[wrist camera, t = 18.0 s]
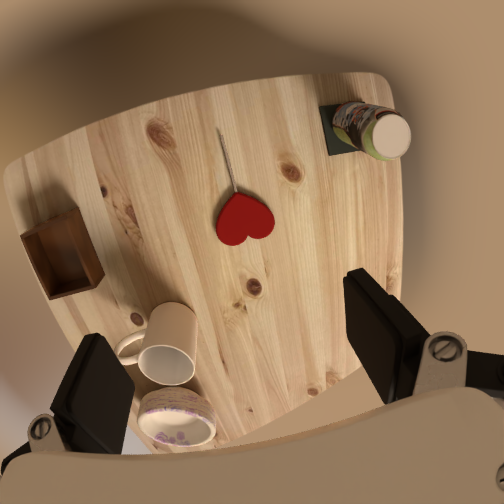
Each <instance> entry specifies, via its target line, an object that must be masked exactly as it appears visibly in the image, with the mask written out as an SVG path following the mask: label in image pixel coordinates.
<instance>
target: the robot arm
mask: <svg viewBox="0 0 504 504" xmlns="http://www.w3.org/2000/svg"><path fill="white" fill-rule="evenodd" d="M343 286H344V299H345V314H346V333H347V338H348V340H349V342H350V344H351V346H352V348H353V349H354V351H355V353H356V355H357V356H358V358H359V360H360V362H361V363H362V365H363V367H364V369H365V370H366V372H367V374H368V376H369V378H370V379H371V381H372V383H373V385H374V386H375V388H376V390H377V392H378V393H379V395H380V397H381V399H382V401H383V402H384V404H385V405H384V406H382V407H379V408H376V409H374V410H371V411H368V412H366V413H362V414H360V415H357V416H354V417H351V418H348V419H345V420H342V421H338V422H335V423H332V424H329V425H326V426H322V427H319V428H315V429H312V430H308V431H304V432H301V433H297V434H293V435H289V436H285V437H280V438H276V439H272V440H267V441H262V442H257V443H251V444H246V445H240V446H234V447H228V448H221V449H213V450H205V451H195V452H184V453H170V454H146V455H121V452H122V447H123V442H124V437H125V432H126V427H127V422H128V417H129V413H130V408H131V404H132V399H133V395H134V391H135V385H134V382H133V380H132V379H131V377H130V376H129V374H128V373H127V372H126V370H125V369H124V367H123V366H122V364H121V362H120V361H119V359H118V358H117V356H116V355H115V353H114V351H113V350H112V348H111V347H110V345H109V343H108V342H107V340H106V338H105V337H104V336H101V335H100V334H99V333H93V334H88V335H85V336H84V338H83V340H82V342H81V343H80V345H79V347H78V349H77V351H76V353H75V355H74V357H73V360H72V361H71V363H70V365H69V367H68V369H67V371H66V374H65V376H64V378H63V380H62V382H61V384H60V386H59V389H58V391H57V393H56V395H55V398H54V400H53V402H52V404H51V407H50V410H51V411H52V412H53V413H54V417H52V416H51V415H49V414H41V415H39V416H37V417H36V418H35V419H34V420H33V421H32V422H31V423H30V425H29V427H28V439H29V441H28V442H27V443H25V444H24V445H22V446H21V447H20V448H18V449H17V450H16V451H14V452H13V453H11V454H10V455H9V456H7V457H6V458H5V459H4V460H3V462H2V466H1V474H2V476H0V504H504V355H497V354H490V353H483V352H476V351H469V350H467V344H466V342H465V341H464V339H462V337H460V336H459V335H457V334H455V333H452V332H438V333H434V334H433V335H430V334H429V333H428V332H427V331H426V330H425V329H424V328H423V326H422V325H421V324H420V323H419V322H418V321H417V320H416V319H415V318H414V316H413V315H412V314H411V313H410V312H409V311H408V310H407V309H406V308H405V307H404V306H403V305H402V304H401V303H400V301H399V300H398V299H397V298H396V297H395V296H393V295H388V293H387V292H386V291H385V290H384V289H383V288H382V287H381V286H380V285H379V284H378V283H377V282H376V281H375V280H374V279H373V278H372V277H371V276H370V275H369V274H368V273H367V272H366V270H365V269H363V268H359V269H356V270H352V271H349V272H348V273H347V276H346V277H344V278H343Z"/></svg>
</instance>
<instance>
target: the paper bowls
mask: <svg viewBox="0 0 504 504" xmlns="http://www.w3.org/2000/svg"><path fill="white" fill-rule="evenodd" d="M137 424H138V426H139V428H140V429H141V431H142V432H143V433H144V434H145V435H147V436H148V437H150V438H151V439H153V440H155V441H158V442H161V443H164V444H167V445H172V446H179V447H192V446H198V445H202V444H204V443H207V442H209V441H210V440H211V439H212V438H213V437H214V436H215V434H216V413H215V410H214V407H213V406H212V405H211V404H210V403H209V402H208V401H207V400H206V399H204V398H202V397H200V396H199V395H198V394H197V393H195V392H193V391H191V390H189V389H186V388H182V387H165V388H162V389H160V390H155V391H152V392H150V393H148V394H146V395H145V396H144V397H143V398H142V400H141V402H140V407H139V412H138V417H137Z"/></svg>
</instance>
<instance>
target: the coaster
mask: <svg viewBox="0 0 504 504" xmlns="http://www.w3.org/2000/svg"><path fill="white" fill-rule="evenodd" d="M360 103H365V102H360ZM340 105H341V104H336V105H328V106H320V107H319V109H320V114H321V118H322V123H323V128H324V133H325V138H326V143H327V148H328V154H329V156H331V155H337V154H343V153H348V152H354V151H360V150H359V149H357V148H355V147H353V146H352V145H350V144H348V143H346V142H344V141H342V140H341V139H339V138H338V137H337V135H336V134H335V132H334V130H333V126H332V117H333V114H334V112H335V110H336V109H337V107H338V106H340Z"/></svg>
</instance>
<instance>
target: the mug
mask: <svg viewBox="0 0 504 504" xmlns="http://www.w3.org/2000/svg"><path fill="white" fill-rule="evenodd" d="M197 330H198V321H197V318H196V316H195V314H194V313H193V311H192V310H191V309H189V308H188V307H187V306H185V305H183V304H180V303H176V302H167V303H163V304H160V305H158V306H157V307H156V308H155V309H154V310H153V311H152V313H151V316H150V319H149V322H148V325H147V328H146V329H144V330H140V331H137V332H135V333H133V334H131V335H129V336H127V337H125V338H124V339H122V340H121V341H120V342H119V343H118V344H117V346H116V347H115V350H114V353H115V355H116V356H117V358H118V359H119V361H120V362H121V364H122V365H130V364H134V363H137V362H138V366H139V368H140V370H141V372H142V373H143V374H144V375H145V376H146V377H148V378H149V379H150V380H152V381H154V382H157V383H160V384H163V385H179V384H182V383H185V382H187V381H188V380H190V379H191V378H192V377H193V375H194V372H195V360H196V345H197ZM142 337H144V338H143V342H142V345H141V349H140V352H139V354H136V355H134V356H130V357H119V356H118V355H119V353H120V352H121V350H122V349H123V348H124V347H125V346H126V345H128V344H129V343H131V342H133V341H135V340H137V339H140V338H142Z"/></svg>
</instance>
